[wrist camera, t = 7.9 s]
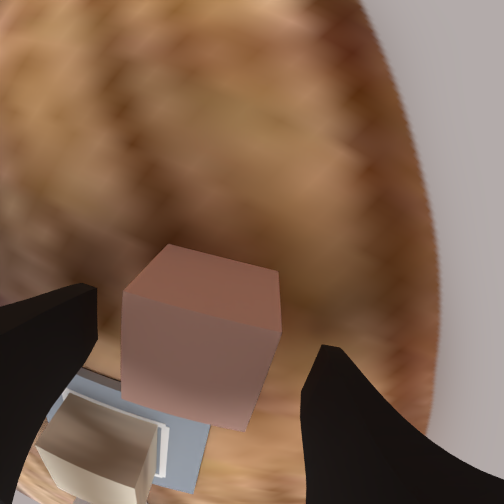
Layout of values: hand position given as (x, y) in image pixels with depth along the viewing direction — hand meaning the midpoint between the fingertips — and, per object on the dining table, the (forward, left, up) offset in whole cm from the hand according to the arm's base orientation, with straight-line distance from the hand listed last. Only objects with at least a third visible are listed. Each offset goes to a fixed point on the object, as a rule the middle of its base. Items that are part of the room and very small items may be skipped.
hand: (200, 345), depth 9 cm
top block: (0, 0, -3) cm, 3 cm away
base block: (-4, -10, -2) cm, 11 cm away
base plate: (-4, -10, -3) cm, 11 cm away
